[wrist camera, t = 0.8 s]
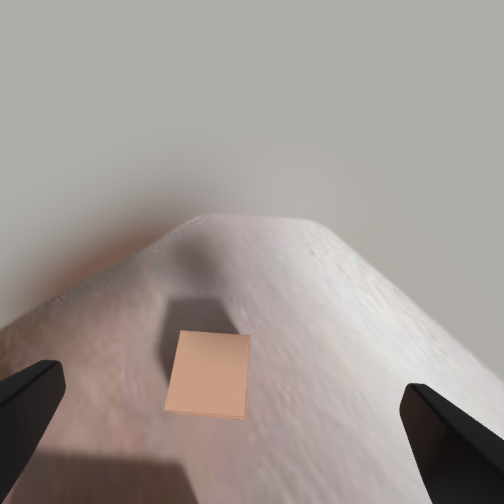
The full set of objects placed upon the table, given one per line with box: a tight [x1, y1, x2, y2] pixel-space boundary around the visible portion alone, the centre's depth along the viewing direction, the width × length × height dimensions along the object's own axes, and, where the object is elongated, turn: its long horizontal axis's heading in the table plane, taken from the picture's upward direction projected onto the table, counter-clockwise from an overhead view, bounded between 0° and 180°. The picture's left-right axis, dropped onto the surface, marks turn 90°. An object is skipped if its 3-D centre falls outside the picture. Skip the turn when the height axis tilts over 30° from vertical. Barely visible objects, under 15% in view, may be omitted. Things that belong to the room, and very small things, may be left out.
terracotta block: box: [164, 330, 250, 420], centre depth 21 cm, size 5×5×5 cm
